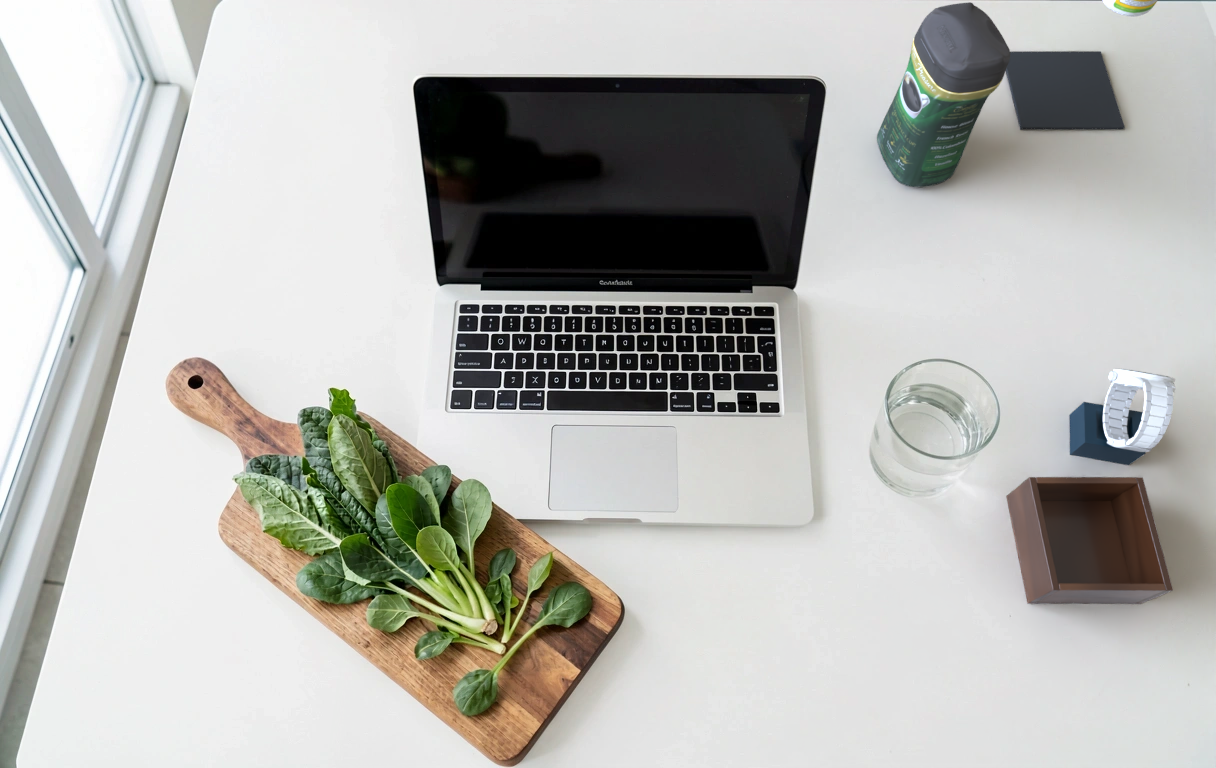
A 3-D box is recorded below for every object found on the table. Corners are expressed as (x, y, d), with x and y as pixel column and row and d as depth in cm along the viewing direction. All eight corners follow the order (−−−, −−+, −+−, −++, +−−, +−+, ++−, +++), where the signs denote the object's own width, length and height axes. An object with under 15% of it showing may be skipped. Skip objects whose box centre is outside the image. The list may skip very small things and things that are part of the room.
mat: (1099, 53, 111) (1100, 51, 110) (1123, 129, 105) (1125, 127, 105) (1001, 53, 111) (1002, 51, 110) (1020, 129, 105) (1021, 127, 105)
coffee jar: (962, 182, 102) (1031, 57, 85) (897, 196, 101) (952, 73, 85) (929, 119, 106) (988, -13, 90) (866, 131, 105) (913, 1, 89)
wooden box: (1113, 496, 86) (1142, 477, 81) (1140, 604, 81) (1173, 590, 77) (1006, 496, 86) (1029, 476, 81) (1027, 603, 81) (1053, 590, 77)
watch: (1126, 407, 90) (1189, 356, 80) (1129, 482, 86) (1195, 438, 76) (1068, 397, 90) (1123, 344, 80) (1069, 471, 87) (1127, 426, 77)
